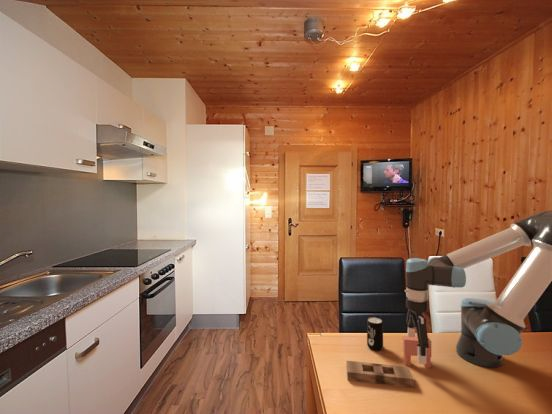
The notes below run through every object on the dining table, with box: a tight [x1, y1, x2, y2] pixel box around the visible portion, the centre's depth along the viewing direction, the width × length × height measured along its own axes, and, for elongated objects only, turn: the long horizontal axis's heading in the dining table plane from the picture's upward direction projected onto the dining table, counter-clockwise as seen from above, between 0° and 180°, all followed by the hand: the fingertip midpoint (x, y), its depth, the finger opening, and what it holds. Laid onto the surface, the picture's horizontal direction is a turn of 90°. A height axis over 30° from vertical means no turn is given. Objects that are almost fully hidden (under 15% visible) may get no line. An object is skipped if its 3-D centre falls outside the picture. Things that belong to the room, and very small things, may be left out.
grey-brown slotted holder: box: [346, 360, 415, 388], centre depth 98 cm, size 22×7×3 cm, turn 78°
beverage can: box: [366, 316, 384, 352], centre depth 118 cm, size 7×7×12 cm
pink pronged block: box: [402, 336, 432, 368], centre depth 106 cm, size 10×3×10 cm, turn 78°
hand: (416, 352), depth 106 cm, fingers open, 13 cm apart
